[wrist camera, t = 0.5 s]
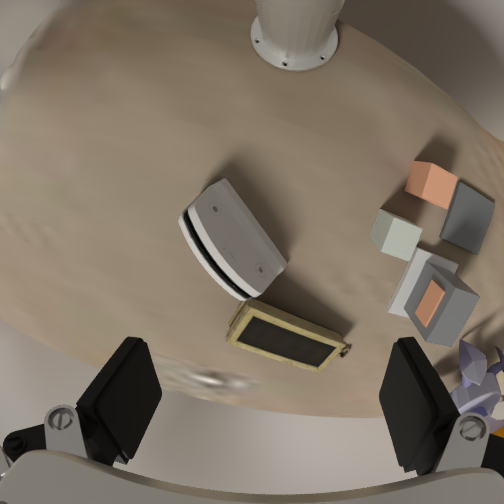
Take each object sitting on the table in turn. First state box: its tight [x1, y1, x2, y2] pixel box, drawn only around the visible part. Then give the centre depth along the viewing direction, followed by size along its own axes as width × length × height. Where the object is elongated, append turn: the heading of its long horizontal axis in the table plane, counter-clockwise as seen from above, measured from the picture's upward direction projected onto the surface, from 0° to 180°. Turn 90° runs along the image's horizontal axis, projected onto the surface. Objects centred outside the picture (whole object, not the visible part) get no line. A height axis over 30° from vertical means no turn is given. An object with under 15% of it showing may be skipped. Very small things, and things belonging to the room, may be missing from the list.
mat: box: [439, 181, 495, 255], centre depth 37 cm, size 10×10×1 cm
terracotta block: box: [404, 161, 457, 209], centre depth 34 cm, size 5×5×6 cm
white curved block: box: [178, 178, 287, 301], centre depth 39 cm, size 17×5×10 cm, turn 36°
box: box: [225, 298, 350, 373], centre depth 46 cm, size 8×22×5 cm, turn 62°
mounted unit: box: [386, 247, 480, 347], centre depth 37 cm, size 12×10×11 cm
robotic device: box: [450, 339, 504, 438], centre depth 35 cm, size 26×25×30 cm
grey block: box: [369, 209, 422, 261], centre depth 37 cm, size 5×5×6 cm
